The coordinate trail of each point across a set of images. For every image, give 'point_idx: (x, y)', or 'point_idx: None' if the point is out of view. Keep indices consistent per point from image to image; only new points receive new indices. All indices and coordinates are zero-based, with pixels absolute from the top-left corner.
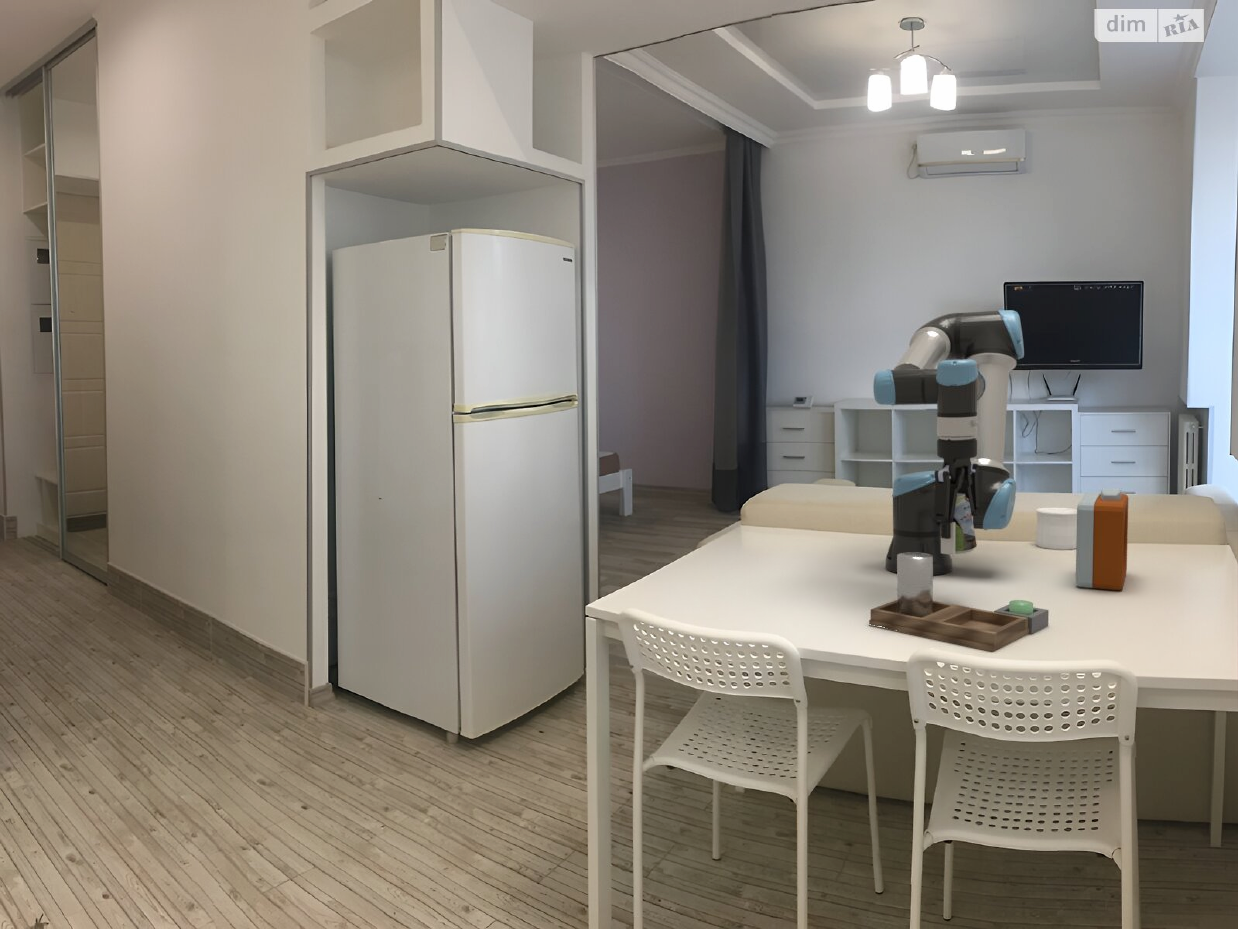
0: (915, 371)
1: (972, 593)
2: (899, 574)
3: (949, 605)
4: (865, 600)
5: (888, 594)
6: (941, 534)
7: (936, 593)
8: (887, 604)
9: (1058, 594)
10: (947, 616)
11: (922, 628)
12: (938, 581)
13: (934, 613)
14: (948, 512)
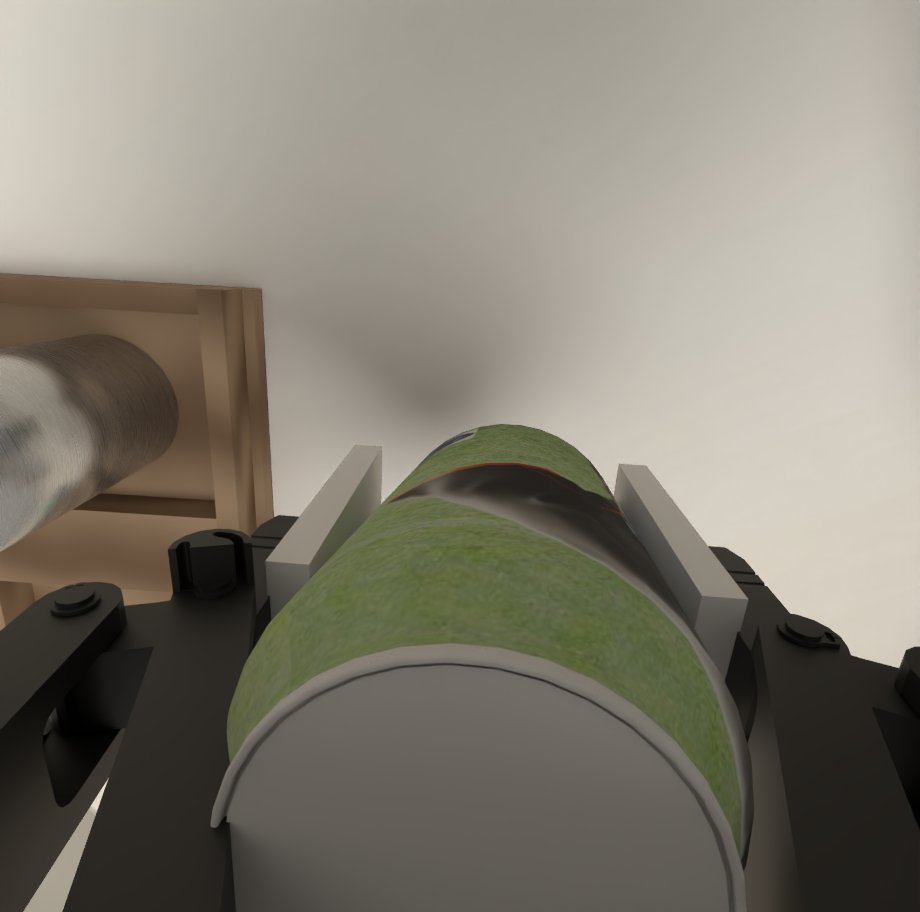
0: None
1: (708, 386)
2: None
3: (216, 509)
4: (280, 5)
5: (468, 44)
6: (255, 534)
7: (623, 250)
8: (25, 292)
9: (851, 648)
10: (68, 567)
11: None
12: (891, 133)
13: (67, 514)
14: (93, 790)
